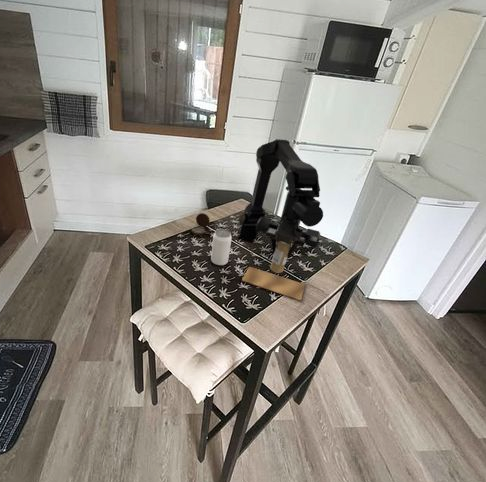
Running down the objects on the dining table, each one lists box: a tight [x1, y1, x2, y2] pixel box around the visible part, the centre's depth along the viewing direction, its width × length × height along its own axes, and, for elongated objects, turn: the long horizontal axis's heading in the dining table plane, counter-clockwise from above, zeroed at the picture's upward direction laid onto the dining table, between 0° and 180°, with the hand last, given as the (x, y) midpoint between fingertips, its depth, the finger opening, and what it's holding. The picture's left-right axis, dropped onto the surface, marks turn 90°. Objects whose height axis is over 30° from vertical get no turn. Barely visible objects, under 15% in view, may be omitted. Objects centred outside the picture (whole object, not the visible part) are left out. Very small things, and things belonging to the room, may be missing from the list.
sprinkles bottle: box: [269, 241, 294, 274], centre depth 90 cm, size 5×5×13 cm
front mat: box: [241, 266, 306, 302], centre depth 96 cm, size 20×9×1 cm, turn 67°
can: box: [210, 228, 233, 266], centre depth 101 cm, size 6×6×12 cm
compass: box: [190, 212, 210, 236], centre depth 119 cm, size 8×8×7 cm
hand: (281, 253), depth 90 cm, fingers closed on sprinkles bottle, 4 cm apart
